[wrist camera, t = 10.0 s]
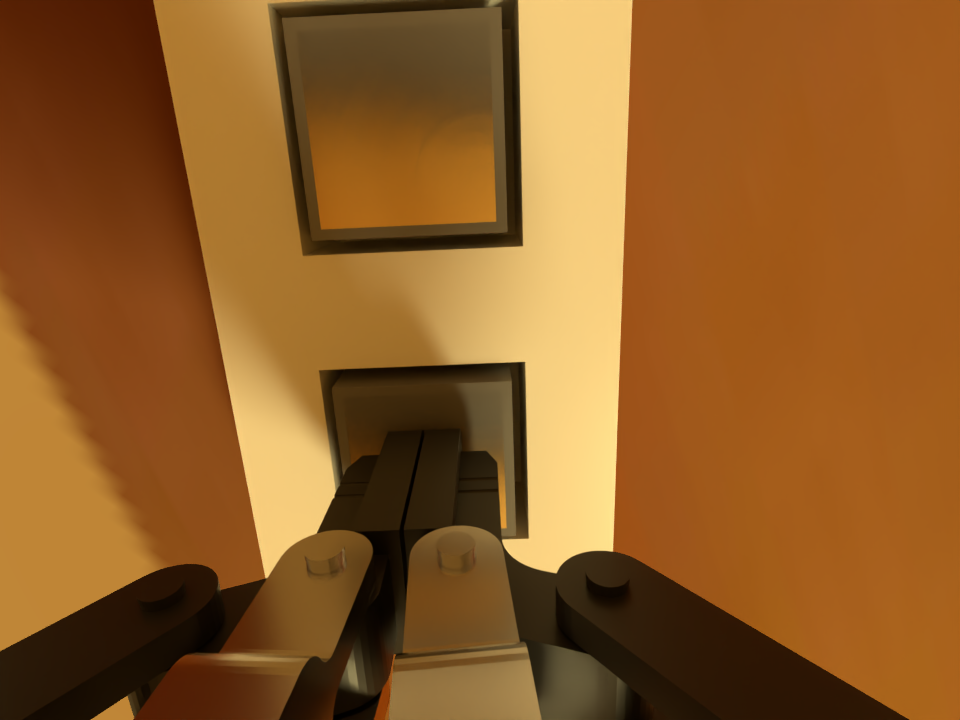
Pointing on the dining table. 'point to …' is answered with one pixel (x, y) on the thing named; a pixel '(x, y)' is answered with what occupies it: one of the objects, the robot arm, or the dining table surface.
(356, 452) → the switch
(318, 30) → the switch middle
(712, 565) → the dining table surface
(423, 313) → the power strip
